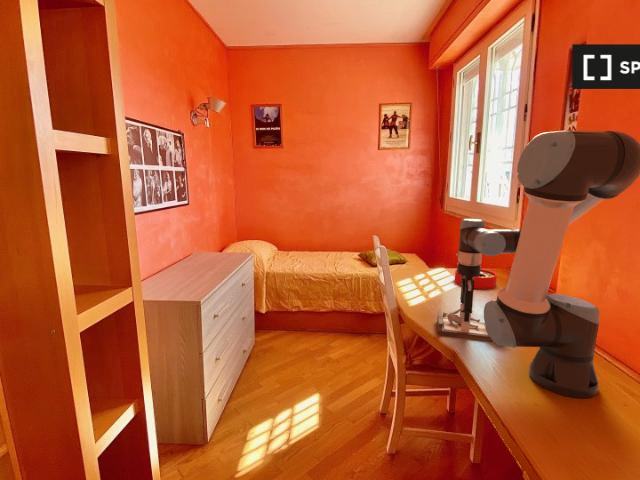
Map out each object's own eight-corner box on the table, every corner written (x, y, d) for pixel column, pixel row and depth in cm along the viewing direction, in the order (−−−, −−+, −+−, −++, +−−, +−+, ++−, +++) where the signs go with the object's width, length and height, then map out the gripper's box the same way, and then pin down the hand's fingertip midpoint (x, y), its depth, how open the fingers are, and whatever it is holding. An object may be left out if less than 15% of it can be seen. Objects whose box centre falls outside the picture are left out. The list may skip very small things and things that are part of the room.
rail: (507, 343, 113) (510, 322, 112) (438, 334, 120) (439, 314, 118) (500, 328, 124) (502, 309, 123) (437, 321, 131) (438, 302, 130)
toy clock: (505, 275, 175) (478, 279, 166) (504, 285, 176) (477, 291, 167) (472, 266, 193) (447, 270, 184) (472, 276, 194) (446, 280, 185)
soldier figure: (476, 334, 118) (442, 319, 121) (471, 338, 122) (438, 324, 125) (481, 315, 121) (448, 301, 124) (477, 319, 125) (444, 305, 129)
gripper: (455, 256, 129) (451, 313, 133) (460, 269, 110) (455, 335, 115) (477, 257, 126) (472, 315, 131) (485, 271, 108) (479, 338, 112)
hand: (464, 324), depth 123 cm, fingers open, 7 cm apart
